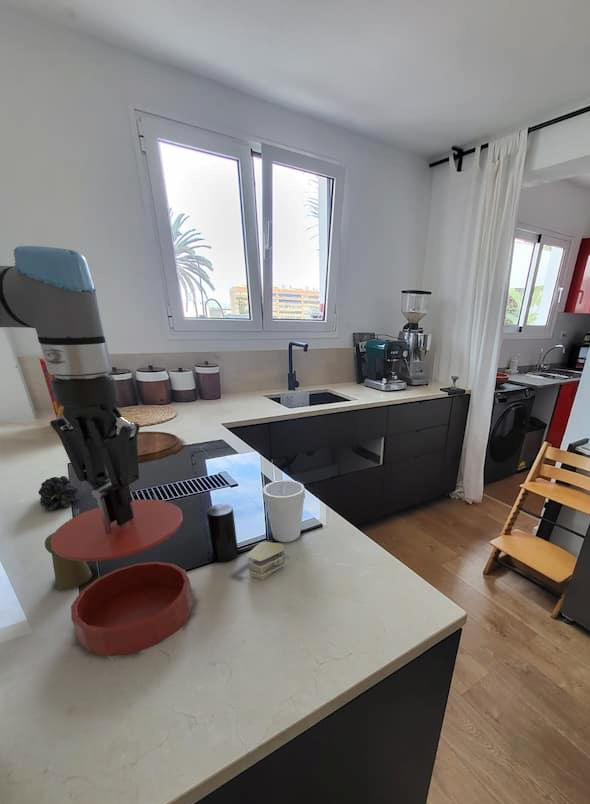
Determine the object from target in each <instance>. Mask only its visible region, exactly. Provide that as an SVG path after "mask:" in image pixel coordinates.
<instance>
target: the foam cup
mask: <svg viewBox="0 0 590 804" xmlns="http://www.w3.org/2000/svg"><path fill="white" fill-rule="evenodd" d="M262 494H263V496H262V497H263V502H264V504H265V507H266V511H267V515H268V520H269V525H270V529H271V534H272V538H273V539H274V540H275V541H277V542H281V543H289V542H293V541H295V540H297V539H299V537H300V536H301V532H302V531H301V530H302V521H303V520H302V519H303V512H304V502H305V498H306V489H305V486H304V484H303V483H302V482H299V481H296V480H292V479H281V480H276V481H275V480H274V481H271V482H269V483H267V484H265V486H264V487H263V488H262Z"/></svg>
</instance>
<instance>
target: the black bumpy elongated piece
mask: <svg viewBox="0 0 590 804" xmlns="http://www.w3.org/2000/svg"><path fill="white" fill-rule="evenodd" d="M40 485H41V486H40V488H39V490H38V492H37V493H38V495H39V496H40V498H39V500H40V501H39V505H40V506H41V507H45V508H46V509H47V510H49V511H53V510H55V508H56V509H62V508H69V507H71V505H72V504H73V503H75V501H76V499H75V498H76V494H78V493H79V488H77V487H76V486H75V487H74V485H73V484H71V480H70V479H69V478H68V477H67V476H66V475H61V476H60V477H58V476H53V477H50V478H46V479H45V480H44V481H43V482H41V484H40Z"/></svg>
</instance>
